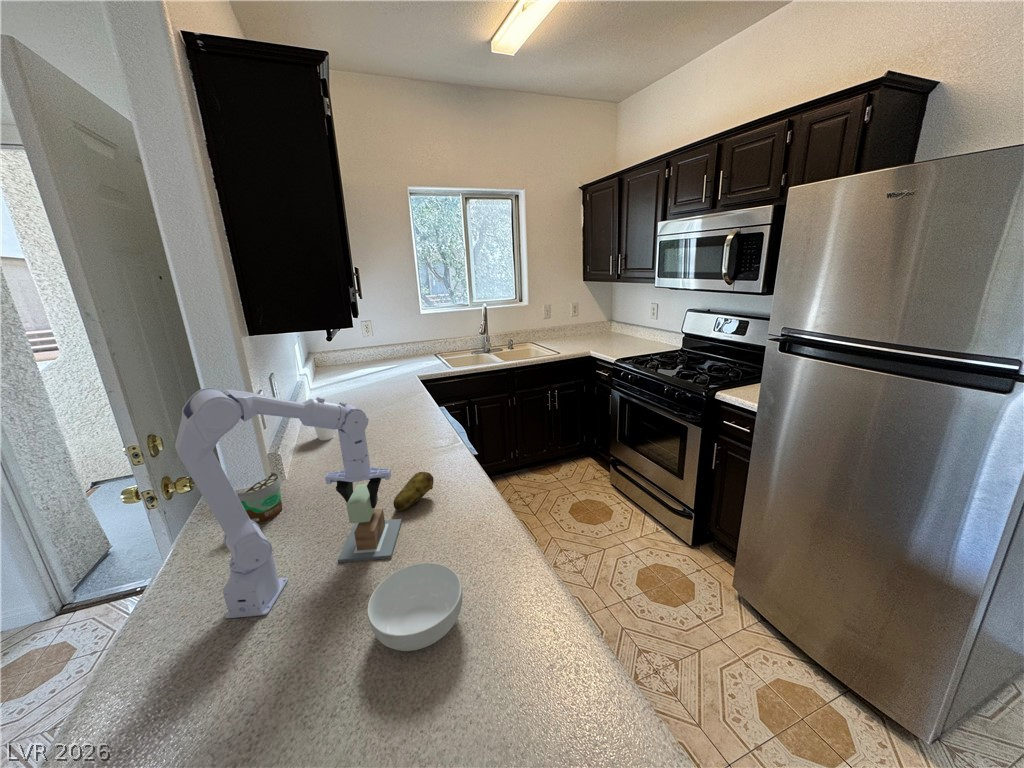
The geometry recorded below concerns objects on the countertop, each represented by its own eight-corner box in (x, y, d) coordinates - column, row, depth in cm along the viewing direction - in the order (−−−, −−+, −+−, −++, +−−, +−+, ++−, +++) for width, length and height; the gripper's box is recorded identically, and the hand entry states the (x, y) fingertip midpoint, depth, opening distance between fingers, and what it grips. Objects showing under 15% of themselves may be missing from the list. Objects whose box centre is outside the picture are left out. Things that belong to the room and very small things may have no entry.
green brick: (369, 521, 92) (366, 502, 91) (349, 523, 92) (346, 504, 91) (378, 500, 101) (375, 482, 100) (360, 501, 101) (357, 484, 99)
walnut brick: (376, 549, 94) (373, 531, 92) (357, 550, 93) (354, 532, 92) (385, 525, 102) (382, 508, 101) (367, 526, 102) (364, 510, 101)
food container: (263, 529, 104) (255, 496, 101) (244, 527, 105) (235, 494, 102) (297, 503, 115) (290, 472, 113) (279, 501, 117) (272, 470, 114)
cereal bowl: (426, 577, 86) (423, 550, 84) (482, 617, 76) (480, 586, 74) (354, 632, 73) (348, 601, 71) (409, 688, 63) (404, 654, 61)
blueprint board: (391, 558, 92) (390, 555, 92) (338, 562, 91) (337, 559, 91) (402, 521, 105) (401, 518, 105) (355, 525, 104) (355, 522, 104)
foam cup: (314, 435, 164) (309, 405, 160) (338, 430, 168) (333, 401, 164) (314, 443, 156) (308, 412, 152) (339, 439, 159) (334, 408, 156)
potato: (387, 503, 114) (384, 478, 111) (429, 488, 121) (427, 465, 118) (397, 517, 107) (394, 491, 105) (441, 501, 114) (439, 476, 112)
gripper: (390, 446, 96) (397, 495, 100) (329, 450, 95) (338, 499, 99) (384, 459, 90) (391, 511, 94) (318, 463, 89) (328, 516, 92)
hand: (363, 506), depth 96 cm, fingers closed on green brick, 4 cm apart
